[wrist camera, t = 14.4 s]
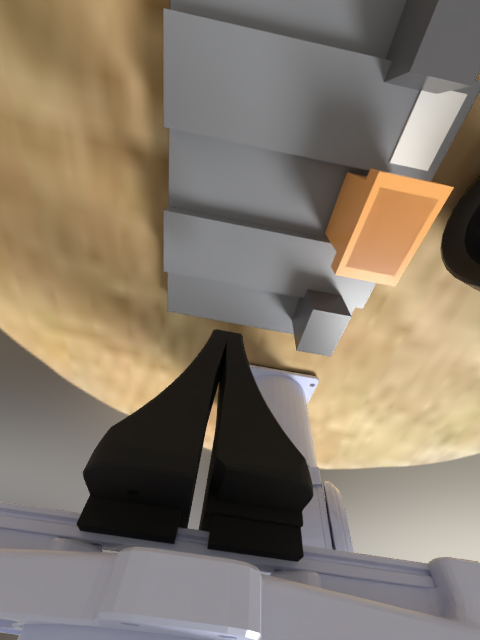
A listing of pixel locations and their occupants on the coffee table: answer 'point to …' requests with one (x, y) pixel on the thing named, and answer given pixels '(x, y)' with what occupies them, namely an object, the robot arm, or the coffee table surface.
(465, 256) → the muzzle brake
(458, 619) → the robot arm
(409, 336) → the coffee table surface
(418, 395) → the coffee table surface
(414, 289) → the coffee table surface
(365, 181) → the handle
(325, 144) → the box
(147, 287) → the coffee table surface
